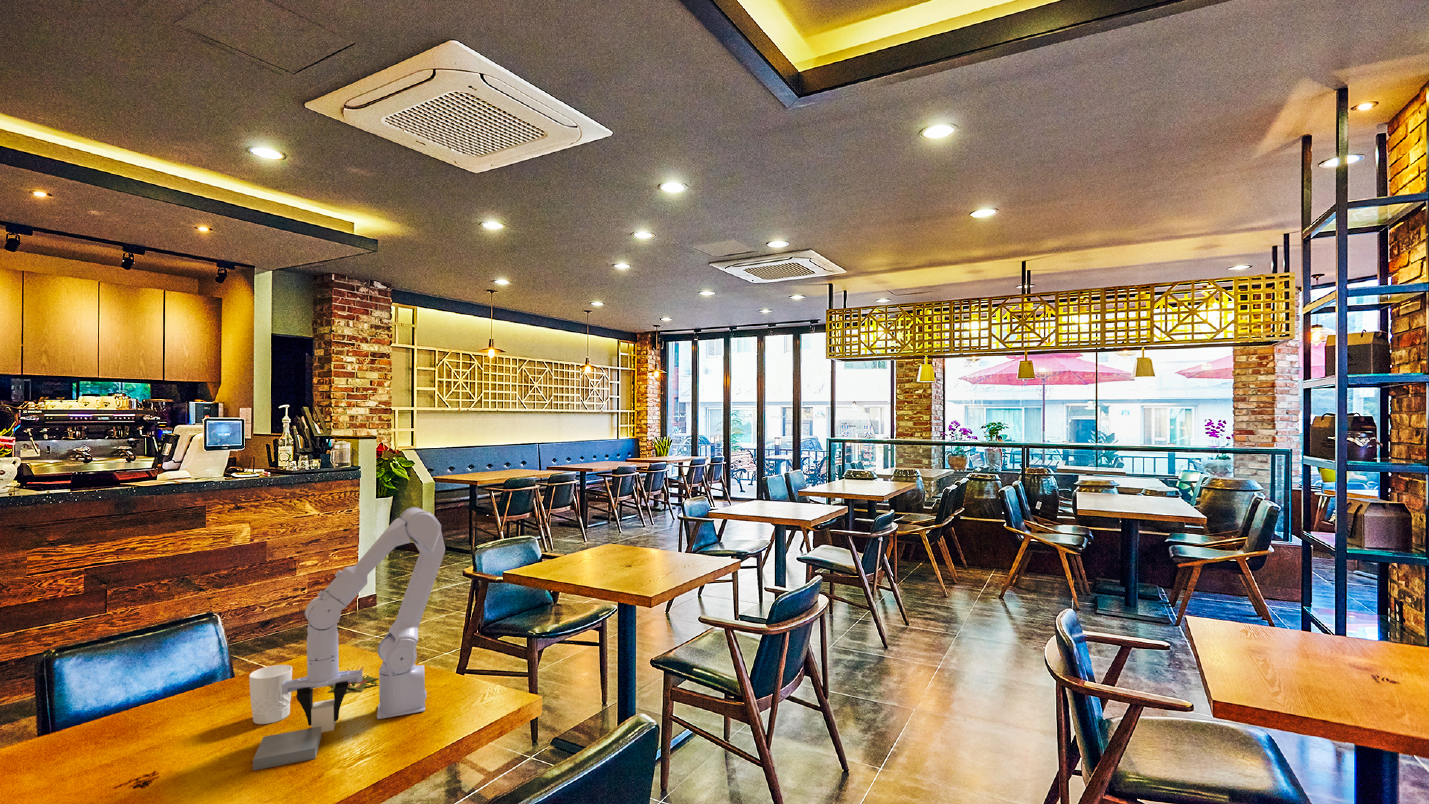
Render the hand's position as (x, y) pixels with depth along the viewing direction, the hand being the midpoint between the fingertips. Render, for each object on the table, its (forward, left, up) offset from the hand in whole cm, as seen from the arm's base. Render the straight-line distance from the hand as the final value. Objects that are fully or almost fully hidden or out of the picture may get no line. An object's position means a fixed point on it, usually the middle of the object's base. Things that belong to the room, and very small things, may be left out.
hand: (323, 721), depth 144 cm
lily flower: (-4, -23, -2) cm, 23 cm away
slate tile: (+5, +9, -1) cm, 10 cm away
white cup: (+11, -11, -2) cm, 16 cm away
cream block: (0, 0, -1) cm, 1 cm away
